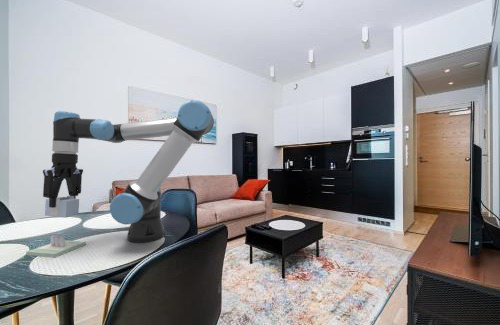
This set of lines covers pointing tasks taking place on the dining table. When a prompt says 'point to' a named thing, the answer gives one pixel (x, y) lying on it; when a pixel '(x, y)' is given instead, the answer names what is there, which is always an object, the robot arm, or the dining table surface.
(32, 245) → the dining table surface
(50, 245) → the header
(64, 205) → the plug
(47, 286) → the dining table surface
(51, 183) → the robot arm
